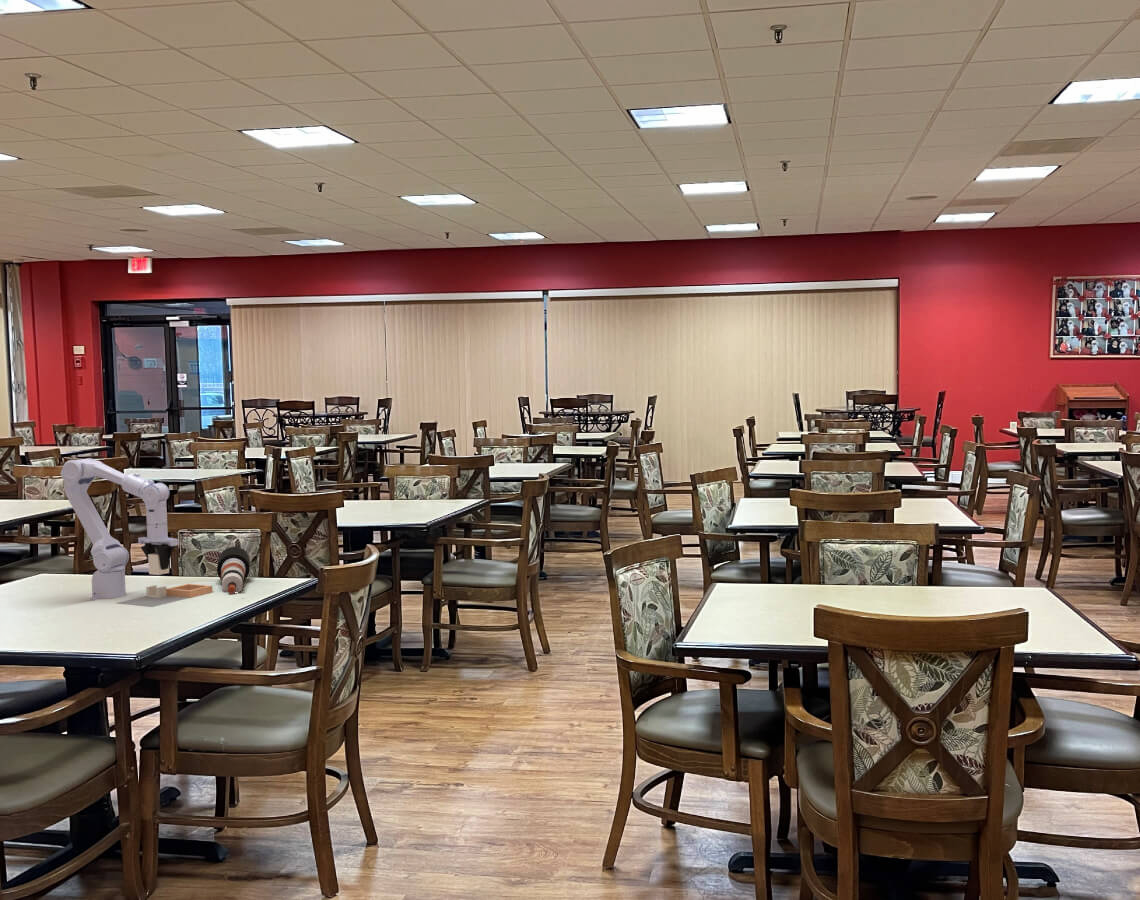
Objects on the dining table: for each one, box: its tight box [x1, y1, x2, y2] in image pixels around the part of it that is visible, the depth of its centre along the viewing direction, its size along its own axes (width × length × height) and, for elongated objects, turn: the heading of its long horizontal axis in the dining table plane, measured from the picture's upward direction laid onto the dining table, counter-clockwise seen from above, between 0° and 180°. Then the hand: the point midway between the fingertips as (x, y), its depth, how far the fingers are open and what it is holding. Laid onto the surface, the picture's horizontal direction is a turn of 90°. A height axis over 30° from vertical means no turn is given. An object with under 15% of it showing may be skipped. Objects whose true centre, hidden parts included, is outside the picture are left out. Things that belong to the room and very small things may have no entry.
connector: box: [147, 547, 170, 576], centre depth 309 cm, size 4×4×8 cm
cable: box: [216, 546, 251, 595], centre depth 327 cm, size 10×34×10 cm, turn 14°
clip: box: [145, 585, 167, 598], centre depth 309 cm, size 5×3×3 cm, turn 64°
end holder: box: [166, 583, 214, 599], centre depth 313 cm, size 10×9×2 cm
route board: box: [116, 593, 209, 608], centre depth 308 cm, size 15×24×1 cm, turn 154°
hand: (159, 568), depth 309 cm, fingers closed on connector, 4 cm apart
